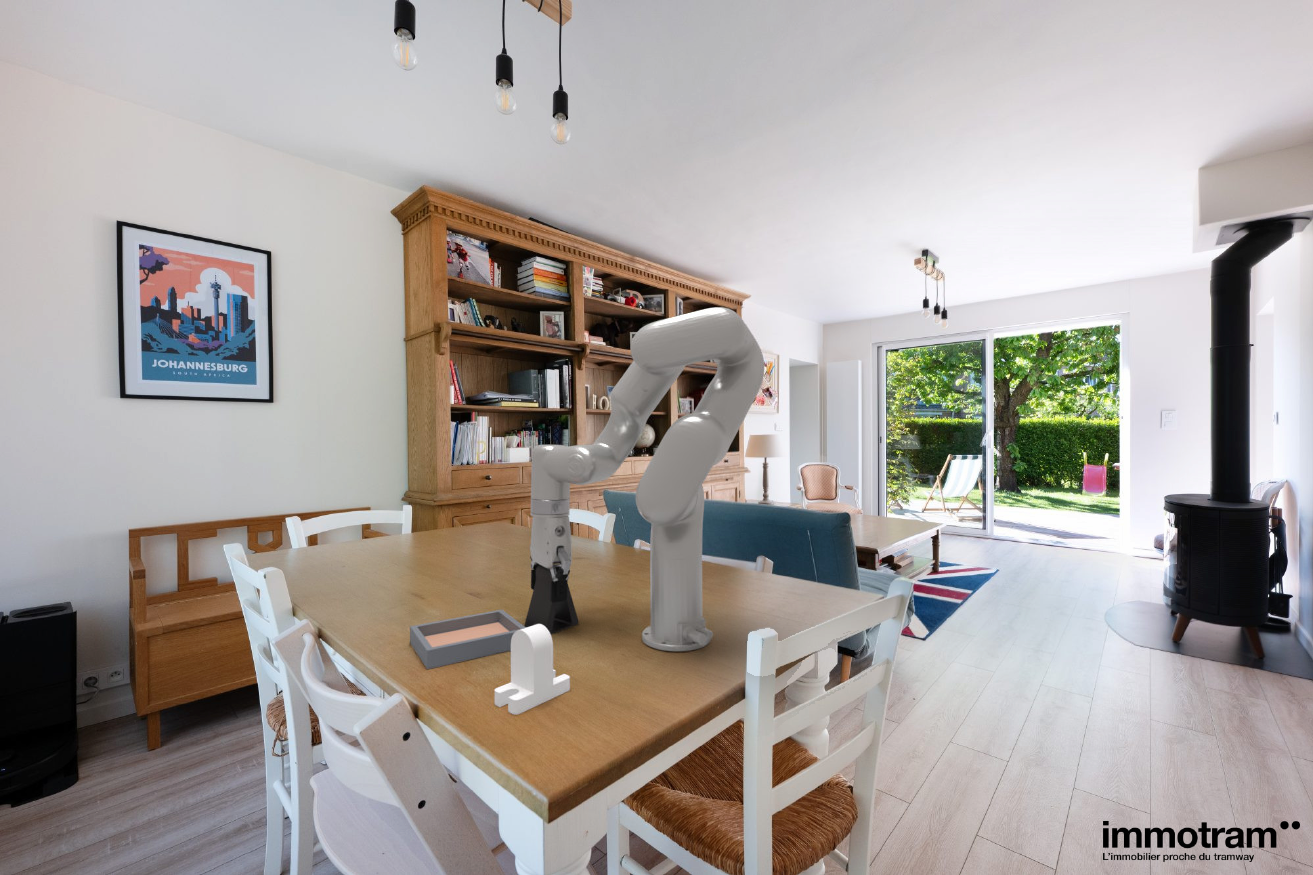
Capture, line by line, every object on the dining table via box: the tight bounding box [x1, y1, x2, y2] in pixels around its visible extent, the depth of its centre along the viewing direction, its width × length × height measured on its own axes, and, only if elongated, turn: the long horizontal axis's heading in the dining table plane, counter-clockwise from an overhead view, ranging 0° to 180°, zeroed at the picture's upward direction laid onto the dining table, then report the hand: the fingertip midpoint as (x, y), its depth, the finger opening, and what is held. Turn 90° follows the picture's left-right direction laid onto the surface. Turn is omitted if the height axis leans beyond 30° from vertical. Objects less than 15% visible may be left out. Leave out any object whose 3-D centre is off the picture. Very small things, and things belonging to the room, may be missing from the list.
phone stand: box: [523, 565, 580, 636], centre depth 108 cm, size 9×6×12 cm, turn 142°
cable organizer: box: [494, 624, 571, 716], centre depth 79 cm, size 5×10×10 cm, turn 140°
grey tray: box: [409, 609, 526, 670], centre depth 99 cm, size 14×17×3 cm
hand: (548, 594), depth 108 cm, fingers open, 9 cm apart
